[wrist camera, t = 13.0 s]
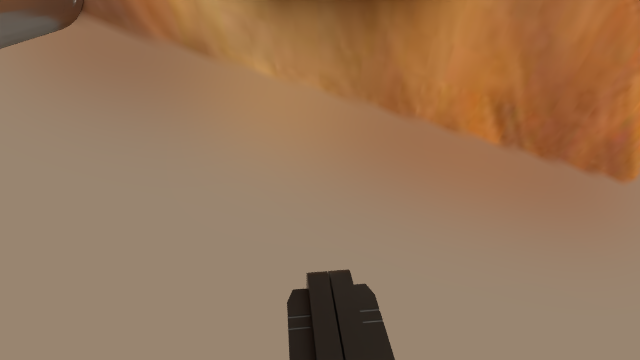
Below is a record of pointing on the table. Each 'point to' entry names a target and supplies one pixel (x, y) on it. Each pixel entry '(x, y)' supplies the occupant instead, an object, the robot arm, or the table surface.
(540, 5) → the table surface
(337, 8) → the table surface
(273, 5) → the table surface
